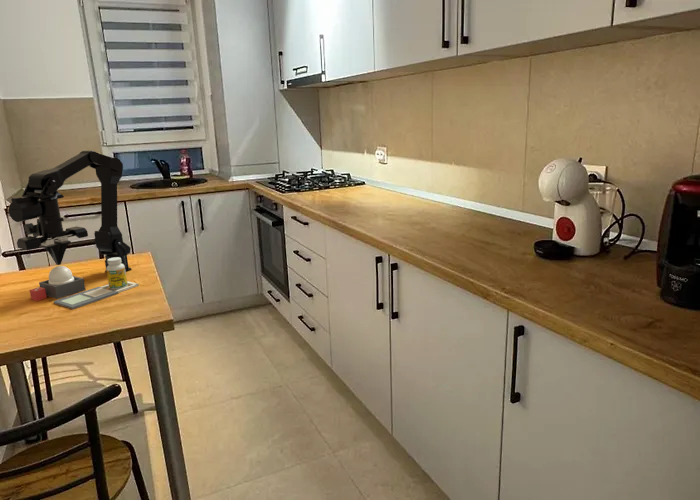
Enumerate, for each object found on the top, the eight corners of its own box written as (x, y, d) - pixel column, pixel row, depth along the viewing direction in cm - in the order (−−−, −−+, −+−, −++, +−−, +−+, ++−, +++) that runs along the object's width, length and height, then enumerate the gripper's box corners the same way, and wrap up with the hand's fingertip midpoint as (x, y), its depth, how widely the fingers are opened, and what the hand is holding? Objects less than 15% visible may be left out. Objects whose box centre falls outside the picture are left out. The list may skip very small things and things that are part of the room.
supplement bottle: (127, 283, 167) (123, 255, 164) (128, 288, 162) (124, 259, 159) (109, 286, 164) (104, 258, 162) (109, 291, 160) (105, 262, 157)
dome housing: (69, 285, 166) (67, 274, 165) (85, 289, 162) (83, 278, 161) (27, 298, 156) (25, 286, 155) (43, 303, 151) (41, 291, 150)
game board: (120, 281, 169) (120, 279, 169) (140, 286, 164) (139, 283, 164) (53, 303, 151) (53, 300, 151) (73, 309, 146) (72, 306, 146)
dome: (67, 281, 164) (63, 262, 163) (79, 284, 161) (76, 265, 159) (45, 287, 159) (41, 267, 157) (57, 291, 155) (53, 271, 153)
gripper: (64, 207, 165) (72, 253, 170) (2, 218, 150) (13, 269, 154) (84, 210, 160) (92, 258, 164) (22, 222, 144) (32, 274, 149)
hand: (58, 264), depth 158 cm, fingers closed
